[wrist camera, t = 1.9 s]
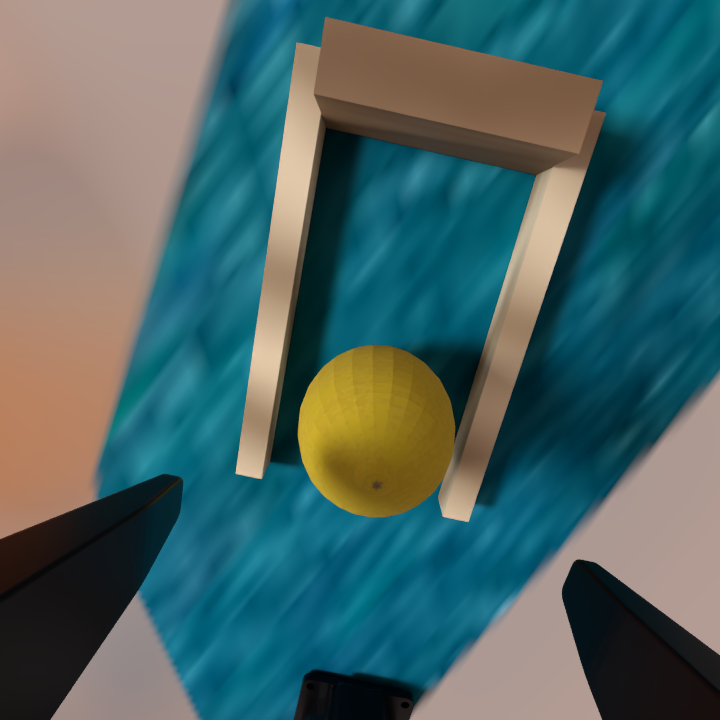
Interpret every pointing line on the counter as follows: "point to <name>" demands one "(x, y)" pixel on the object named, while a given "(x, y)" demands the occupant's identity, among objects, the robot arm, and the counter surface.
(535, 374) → the counter surface
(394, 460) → the lemon
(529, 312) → the channel
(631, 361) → the counter surface
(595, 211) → the counter surface
